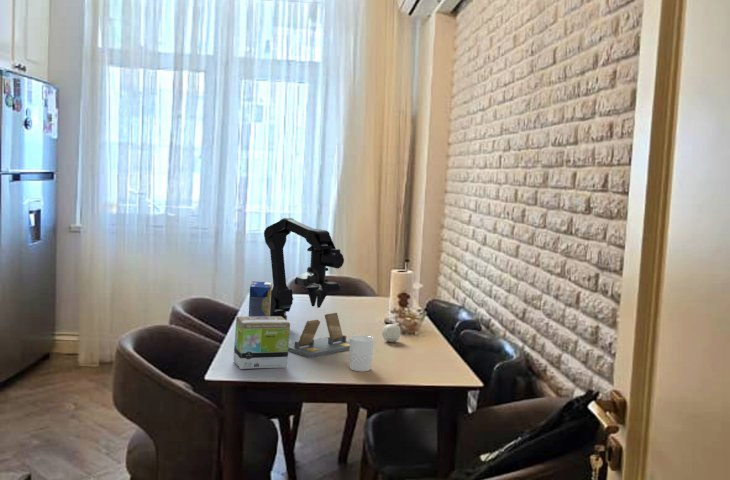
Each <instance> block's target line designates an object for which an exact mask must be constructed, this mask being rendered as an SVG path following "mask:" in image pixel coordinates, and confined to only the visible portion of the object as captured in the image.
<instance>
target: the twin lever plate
mask: <svg viewBox="0 0 730 480" xmlns="http://www.w3.org/2000/svg"><path fill="white" fill-rule="evenodd" d="M342 335H343V337H342V338H343V341H338V342H333V338H331V337H330V336H325V337H320V338H315V339H314V338H313V340H312V343H311V344H310V345H307V346H301V347H300V342H299V341H294V342H293V343H292V342H291V343H289V345H288V352H289V353H293V354H297V355H299V356H302V357H304V358H305V357H306V358H307V359H308V358H309V359H311V358H316V357H319V356H325V355H330V354H334V353H335V354H336V353H339V352H344V351H349V349H350V340H347V335H344V334H342Z"/></svg>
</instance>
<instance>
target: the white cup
mask: <svg viewBox="0 0 730 480" xmlns="http://www.w3.org/2000/svg"><path fill="white" fill-rule="evenodd" d="M349 342H350V349H349V350H348V351H349V357H348V358H349V369H350V370H352V371H355V372H368V371H371V370H372V369H371V368H372V361H373V355H374V349H375V347H374V345H375V338H374V337H373V336H369V335H363V334H356V335H350V336H349Z"/></svg>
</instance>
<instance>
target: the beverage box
mask: <svg viewBox="0 0 730 480" xmlns="http://www.w3.org/2000/svg"><path fill="white" fill-rule="evenodd" d="M272 289H273V281H272V282H271V281H254V280H253V281H251V283H250V286H249V298H248V317H260V316H270V308H271V291H272Z"/></svg>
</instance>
